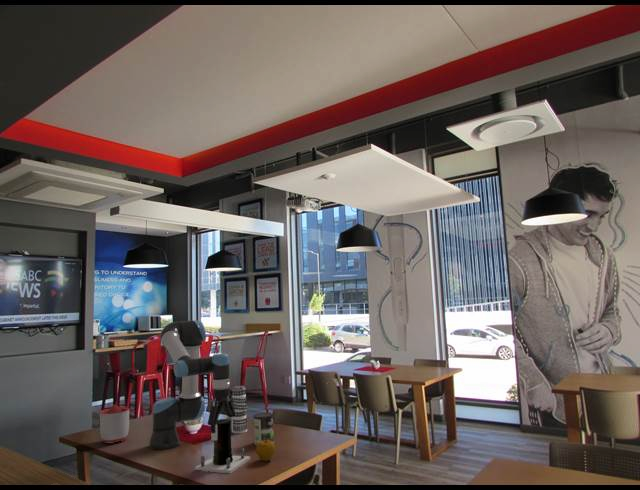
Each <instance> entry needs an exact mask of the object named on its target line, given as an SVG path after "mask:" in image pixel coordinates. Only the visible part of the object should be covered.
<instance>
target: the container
mask: <svg viewBox="0 0 640 490" xmlns="http://www.w3.org/2000/svg"><path fill="white" fill-rule="evenodd" d="M216 425H217V439H218V440H213V456H214V457H213V456H212V457H213V464H215V465H226V458H230V463H231V462H232V461H233V458H232V456H234V455H233V453H232V432H231V420H230V419H227V418H221V419H218V420H217V423H216Z"/></svg>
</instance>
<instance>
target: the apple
mask: <svg viewBox="0 0 640 490" xmlns="http://www.w3.org/2000/svg"><path fill="white" fill-rule="evenodd" d="M255 446H256V447H255V453H256V454H257V456H258V458H259V459H260V460H261V461H263V462H264V461H265V462H268V461H270V460H271V459H272V457H273V456H274V454H275V451H276V445H275V443H273V442H272V441H270V440H265V441H261V442H259V443H258V444H257V445H255Z"/></svg>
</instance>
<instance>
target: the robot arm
mask: <svg viewBox="0 0 640 490" xmlns="http://www.w3.org/2000/svg"><path fill="white" fill-rule="evenodd" d="M206 337H207V336H206V328H205V325H204V324H203V322H202V321H201V320H182V321H172V322H170V323H169V322H168V323H167V324H166V325H165V326H164V327H162V330H161V331H160V334H159V340H160V343H161V345H162V346H163V347H164V348H166V349H167V351H168V353H169V355H170V357H171V359H172V360H173V362H174V363H173V373H174V376H175V377H176V378H182V379H181V380H182V382H181V393H180V394H179V396H178V399H177V398H175V397H167V398H163V399H158V400H157V401H156V402H154V403H153V405H152V412H151V413H152V433H151V435H150V440H149V444H148V446H149V447H150V448H149V449H151V448H152V449H151V450H167V449H171V448H175V447H176V446H178V445H179V444H180V437H179V434H178V431H177V427H176V426H177V423H181V422H187V421H194V420H198V419H200V418H201V417H202V416H203V415H204V412H205V405H206V404H205V399H204V397H203V395H202V394H201V392H199V375H207V374H212V388H213V390H212V396H213V398H215V401H211V403H210V406H211V407H210V411H209V416H208V421H207V425H208V426H210V432H211V433H210V435H211V439H210V440H211V441H214V440H218V439H217V425H216V423H217V420H219V416H220V415H221V412H222V410H224V412H225V414H226V415H227V417H226V419H230V420H231V433H233V417H235V410H234V407H233V403H232V398H231V397H232V395H231V389H230V357H229V354H228V353H215V354H213V355H211V356H207V357H200V358H199V355H200V347H202V343H203V342H204V341H206Z"/></svg>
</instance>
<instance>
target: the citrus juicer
mask: <svg viewBox="0 0 640 490" xmlns="http://www.w3.org/2000/svg"><path fill="white" fill-rule="evenodd" d="M98 413H99V434H100V437H101V441H102V443H103V442H119V441H122V440H124V441H126V440H125V439H127V437H128V434H129V430H130V429H129V428H130V407H128V406H118V405H117V404H116V403H115V404H113V405H112V406H111V407H110V408H109V409H108V408H107V409H102V410H100V411H99V412H98ZM119 443H120V442H119Z"/></svg>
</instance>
